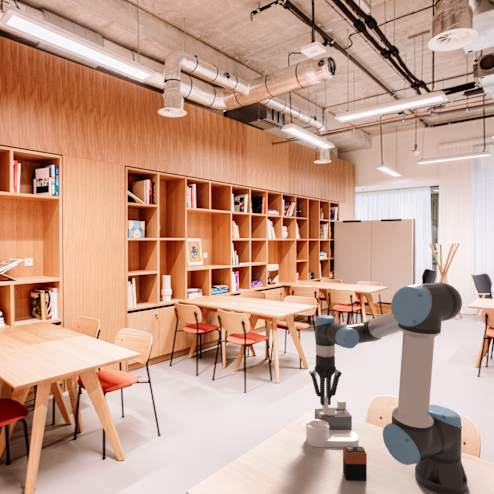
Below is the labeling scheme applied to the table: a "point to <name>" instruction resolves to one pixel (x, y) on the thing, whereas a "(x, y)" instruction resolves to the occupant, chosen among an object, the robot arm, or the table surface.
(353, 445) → the bracket
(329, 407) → the front tab
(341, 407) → the rear tab
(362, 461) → the battery
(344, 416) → the switch box
